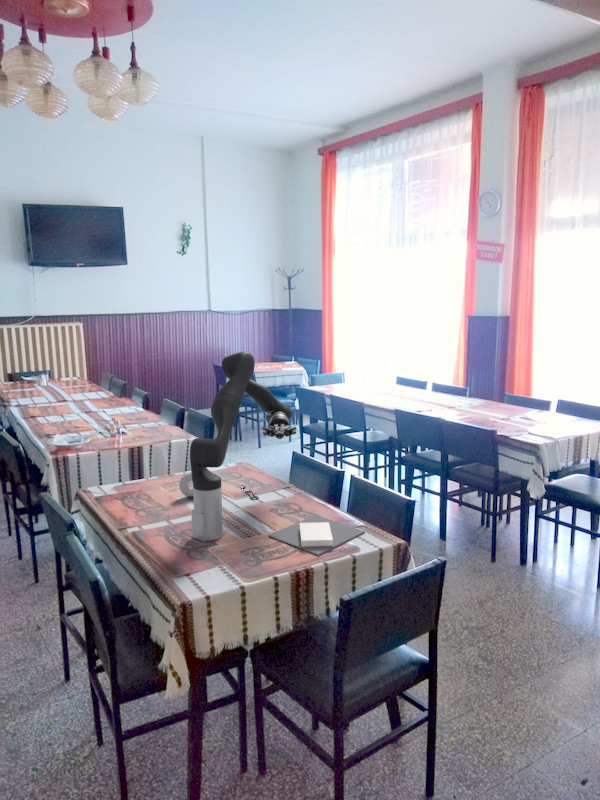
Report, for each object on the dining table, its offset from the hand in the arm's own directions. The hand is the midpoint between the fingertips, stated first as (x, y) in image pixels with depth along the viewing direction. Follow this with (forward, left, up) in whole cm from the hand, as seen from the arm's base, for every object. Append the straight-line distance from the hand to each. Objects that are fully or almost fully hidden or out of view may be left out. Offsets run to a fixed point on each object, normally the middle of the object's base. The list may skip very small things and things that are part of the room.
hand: (279, 436), depth 212 cm
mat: (-3, -20, -30) cm, 36 cm away
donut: (-8, +41, -30) cm, 52 cm away
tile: (-1, -17, -28) cm, 33 cm away
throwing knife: (+11, +29, -30) cm, 43 cm away
